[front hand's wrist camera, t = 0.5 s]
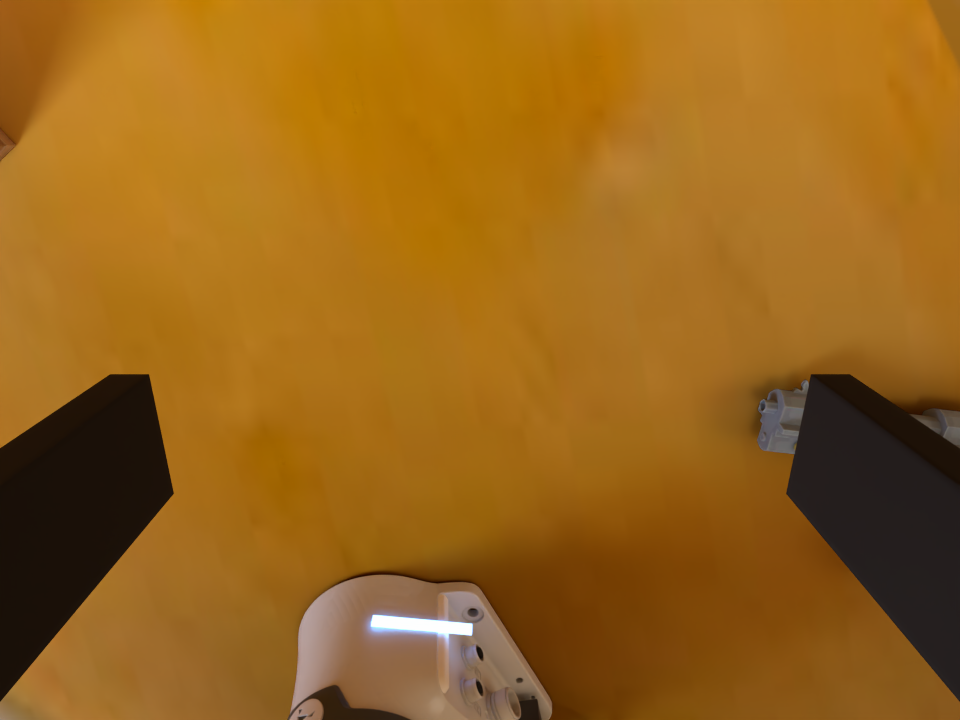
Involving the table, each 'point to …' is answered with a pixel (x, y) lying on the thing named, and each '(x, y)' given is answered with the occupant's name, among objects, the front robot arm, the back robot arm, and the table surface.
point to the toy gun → (787, 412)
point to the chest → (5, 144)
